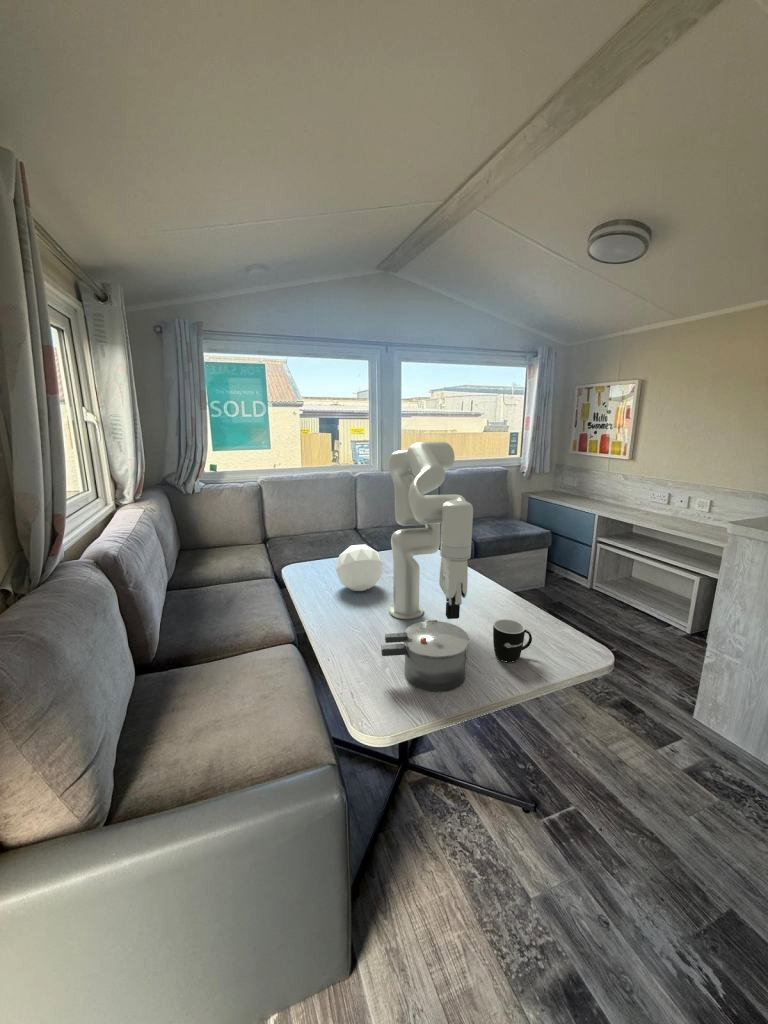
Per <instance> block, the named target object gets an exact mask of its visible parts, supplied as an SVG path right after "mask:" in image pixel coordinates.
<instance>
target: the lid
mask: <svg viewBox="0 0 768 1024" xmlns="http://www.w3.org/2000/svg"><path fill="white" fill-rule="evenodd" d="M384 642H385V644H392V643H393V644H394V643H403V644H404V645H405V646H406V647H407V648H408V649H409V650H410V651H412V652H414V653H416V654H418V655H421V656H425V657H430V658H449V657H454V656H457V655H460V654H461V653H463V652H464V651H465V650H466V649H468V647H469V645H470V644H469V643H470V637H469V635H468V633H467V632H466V631H465V630H464V629H462V628H461V627H459V626H457V625H455V624H452V623H450V622H444V621H441V620H440V621H438V620H437V619H433V620H432V619H431V620H420V621H419V622H415V623H413V624H410V626H408V627H406V628H405V629H404V631H403V632H395V633H384Z"/></svg>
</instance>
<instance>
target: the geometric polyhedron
mask: <svg viewBox="0 0 768 1024" xmlns="http://www.w3.org/2000/svg"><path fill="white" fill-rule="evenodd" d="M335 566H336V567H335V572H336V574H337V577H338V579H339V581H340V584H341V585H343V586H344V587H346V588H348V589H349V590H351V591H352V592H364V591H368V590H370V589H371V588H373V587H374V586H376V585H377V583H378V582H379V580H380V578H381V577H382V575H383V563H382V560H381V558H380V555H379V552H378V551H377V550H375V549H373V548H372V547H371V546H368V545H367V544H366V543H365V544H354V545H353V544H352V545H350V546H348V548H346V549H344V551H343V552H342V553H340V554H339V555H338V558H337V562H336V565H335ZM367 589H368V590H367Z"/></svg>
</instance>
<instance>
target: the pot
mask: <svg viewBox="0 0 768 1024" xmlns="http://www.w3.org/2000/svg"><path fill="white" fill-rule="evenodd" d="M380 647H381V648H380V649H381V650H380V651H381V652H380V653H381V657H392V656H394V657H395V656H404V669H403V670H404V671H403V672H404V677H405V679H406V680H407V682H408V683H410V685H412V686H413V687H415V688H417V689H419V690H423V691H425V692H430V693H445V692H446V693H447V692H452V691H454V690H456V689H458V688H460V687H461V686H462V685H463V684H464V683H465V680H466V670H467V669H466V668H467V651H468V650H467V649H468V648H467V649H466V650H465V651H464V652H463V653H461V654H460V655H457V656H454V657H449V658H430V657H425V656H421V655H418V654H416V653H414V652H412V651H410V650H409V649H408V648H407V647H406V646H405V645H404V643H396V644H395V643H393V644H392V643H388V644H381V646H380Z"/></svg>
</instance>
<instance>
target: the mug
mask: <svg viewBox="0 0 768 1024" xmlns="http://www.w3.org/2000/svg"><path fill="white" fill-rule="evenodd" d="M526 634H528V641H527V642H526V643H525V644H524V640H525V635H526ZM492 638H493V639H492V642H493V648H494V654H495V657H496V656H497V657H498V658H499V659H500V660H499V659H498V658H497V657H496V658H497V659H498V660H499V661H501V660H503V661H507V662H506V663H508V662H512V661H515V662H517V661H518V660H519V658H520V657H521V654H522V652H523V651H524V650H525V649H527V648H529V647H530V645H531V644H532V642H533V637H532V634H531V632H530V631H529V630H527V629H526V627H525V625H523V624H522V623H521V622H519V621H517V620H515V619H514V620H513V619H506V618H502V619H498V620H495V621H494V622H493V627H492ZM516 660H517V661H516ZM503 661H502V662H503ZM512 663H513V662H512Z"/></svg>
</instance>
